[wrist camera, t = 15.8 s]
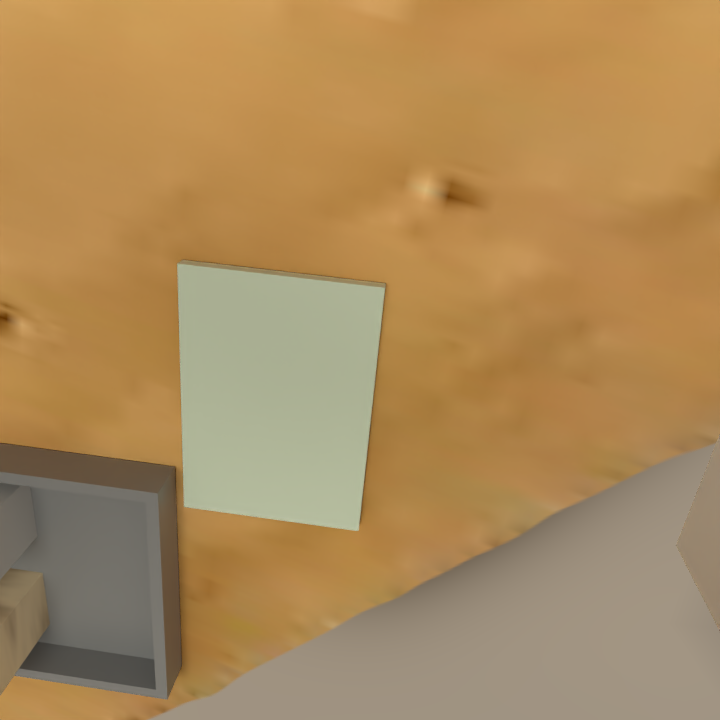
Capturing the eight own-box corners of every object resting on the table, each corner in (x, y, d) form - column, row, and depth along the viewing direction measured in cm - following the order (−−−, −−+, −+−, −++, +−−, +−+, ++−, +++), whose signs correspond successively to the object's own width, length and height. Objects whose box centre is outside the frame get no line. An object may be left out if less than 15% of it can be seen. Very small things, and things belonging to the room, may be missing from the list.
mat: (188, 499, 53) (183, 506, 52) (182, 259, 45) (177, 263, 44) (359, 523, 52) (358, 531, 51) (385, 283, 44) (384, 287, 43)
